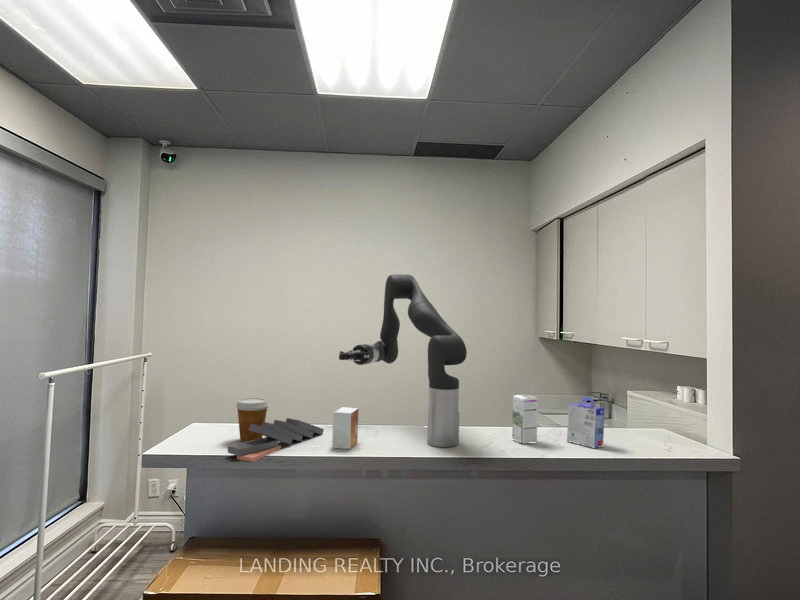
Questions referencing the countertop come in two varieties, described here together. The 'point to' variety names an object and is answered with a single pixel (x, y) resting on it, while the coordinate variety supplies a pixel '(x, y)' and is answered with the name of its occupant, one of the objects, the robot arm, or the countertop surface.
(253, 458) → the domino
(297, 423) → the domino
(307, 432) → the domino
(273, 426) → the domino
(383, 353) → the robot arm
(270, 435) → the domino
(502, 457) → the countertop surface
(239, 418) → the disposable coffee cup
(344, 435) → the small box
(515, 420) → the syrup box
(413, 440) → the countertop surface
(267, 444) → the domino
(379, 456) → the countertop surface
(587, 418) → the ink cartridge box
